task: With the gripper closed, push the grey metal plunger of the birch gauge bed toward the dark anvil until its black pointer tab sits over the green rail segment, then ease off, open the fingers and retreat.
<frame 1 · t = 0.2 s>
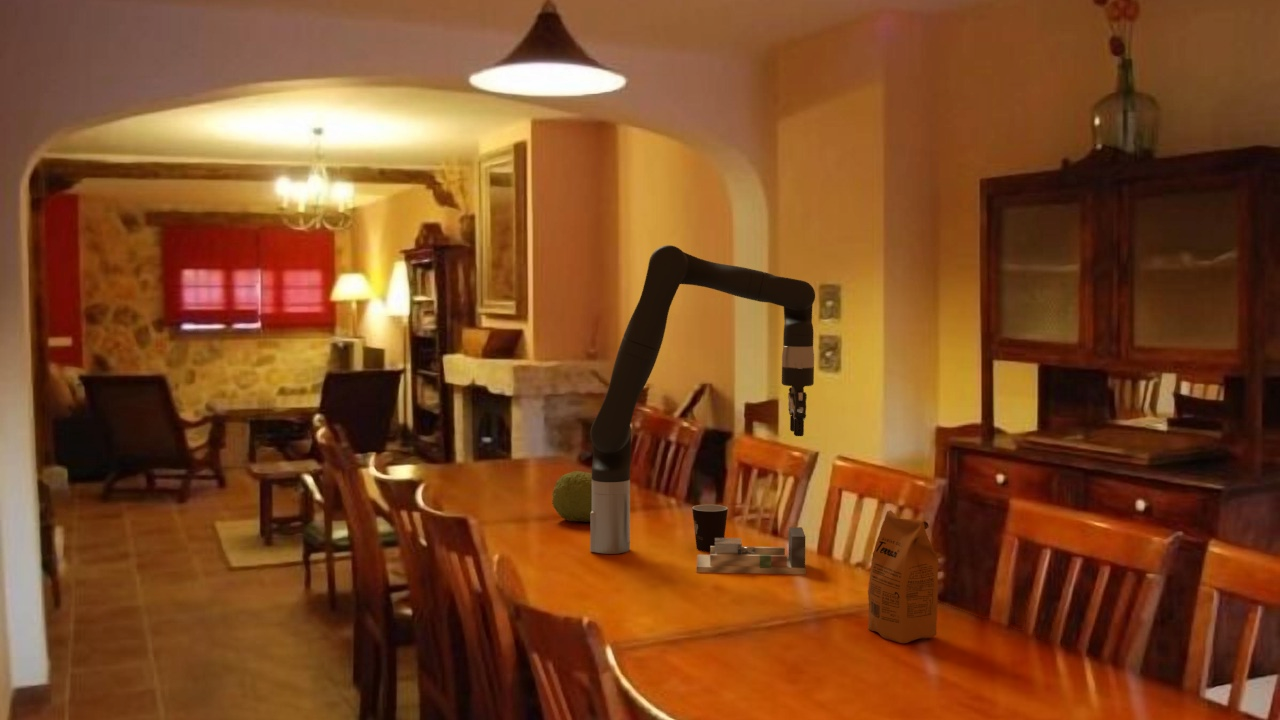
hand: (796, 433, 270), 29 cm above the table, tool pointing down, fingers open, 8 cm apart
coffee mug: (710, 548, 278), on the table
fruit: (581, 522, 310), on the table
plunger: (734, 551, 257), point 4 cm above the table, slide at 0.0 cm
gauge bed: (750, 566, 259), on the table
coffee package: (901, 635, 208), on the table
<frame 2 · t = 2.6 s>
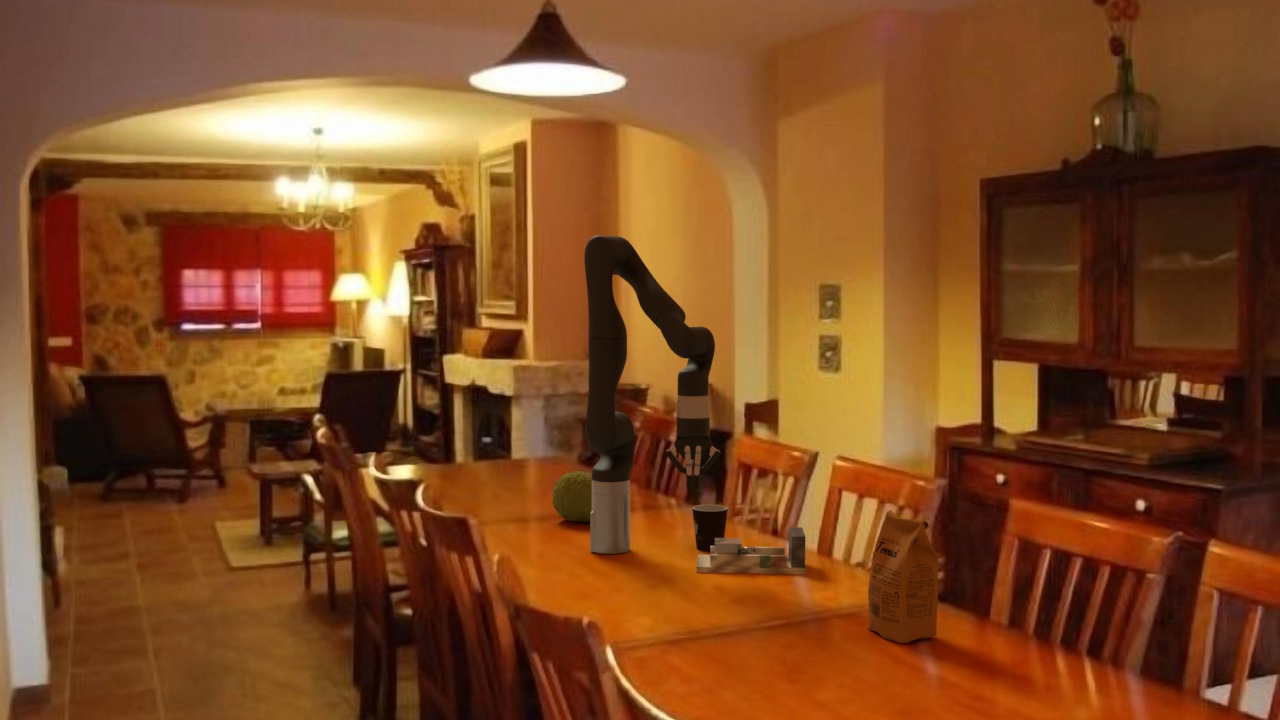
hand: (693, 491, 259), 17 cm above the table, tool pointing down, fingers closed
nothing on the table moved.
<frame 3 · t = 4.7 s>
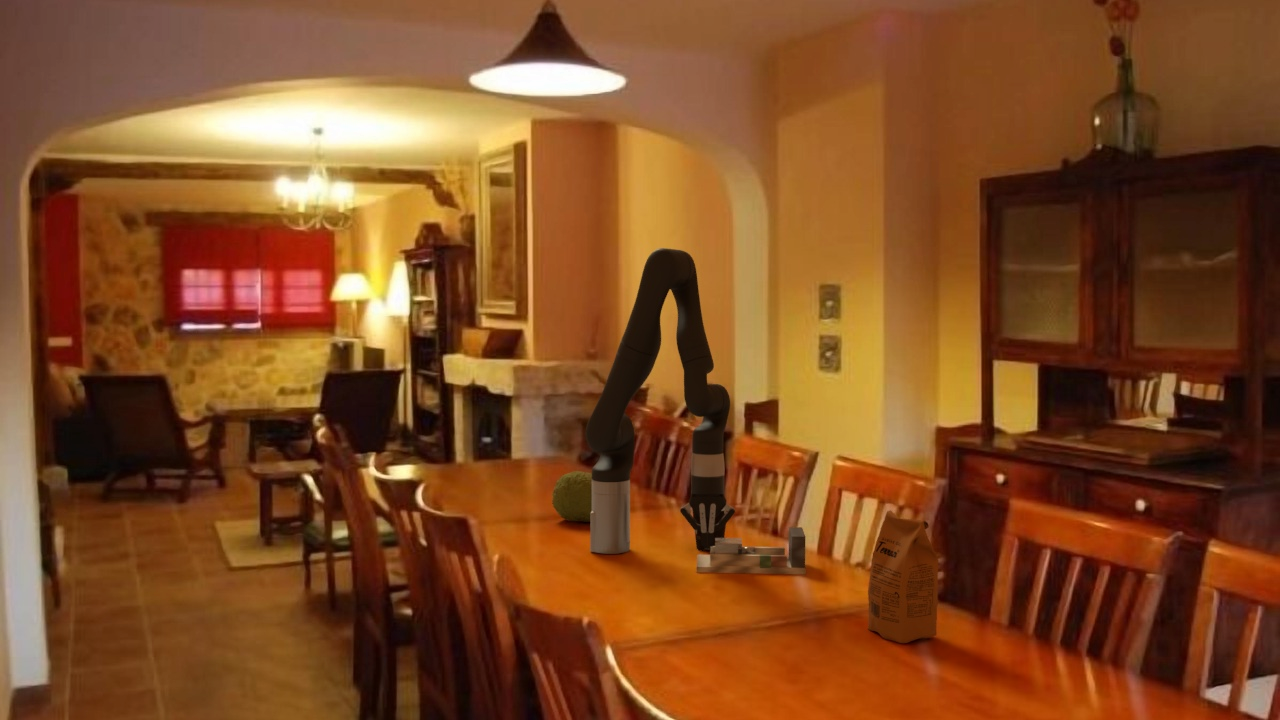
hand: (707, 548, 259), 4 cm above the table, tool pointing down, fingers closed
plunger: (735, 551, 257), point 4 cm above the table, slide at 0.1 cm, touching gripper
everything else where it was.
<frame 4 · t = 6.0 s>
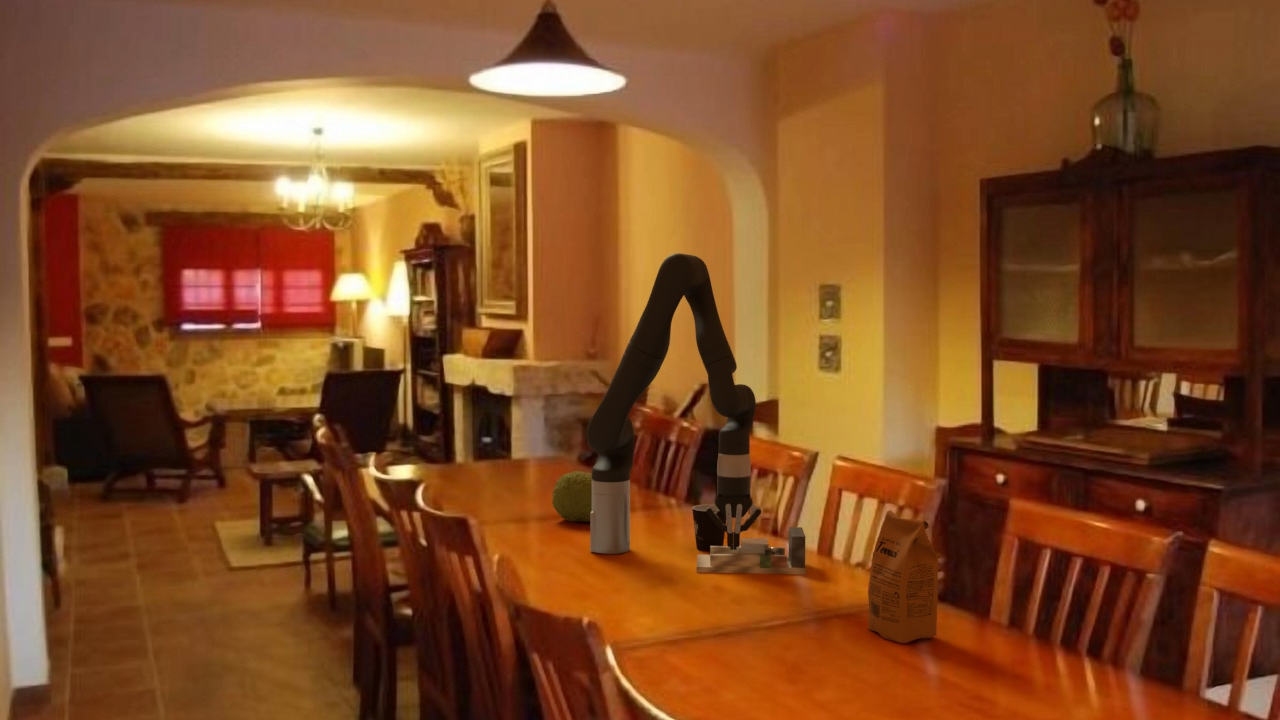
hand: (733, 548, 259), 4 cm above the table, tool pointing down, fingers closed
plunger: (761, 552, 257), point 4 cm above the table, slide at 6.0 cm, touching gripper
everything else where it was.
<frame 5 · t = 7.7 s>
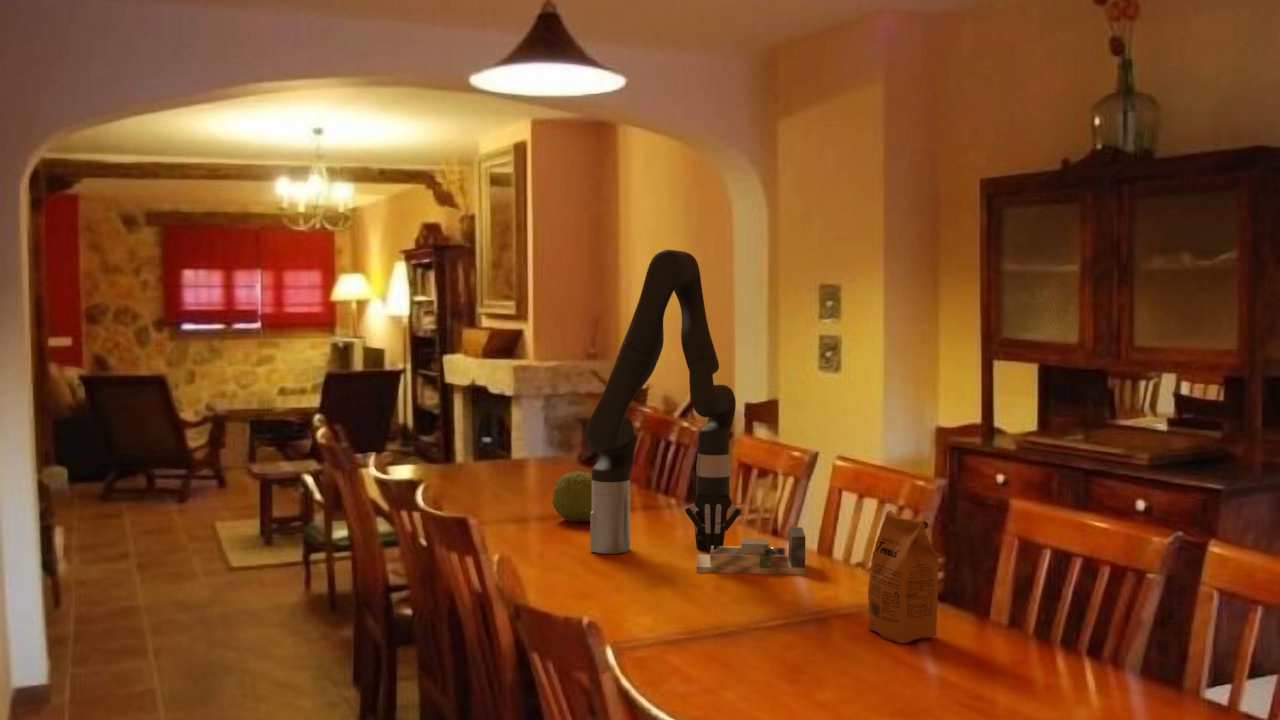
hand: (712, 548, 259), 4 cm above the table, tool pointing down, fingers closed
plunger: (761, 552, 257), point 4 cm above the table, slide at 6.0 cm
everything else where it was.
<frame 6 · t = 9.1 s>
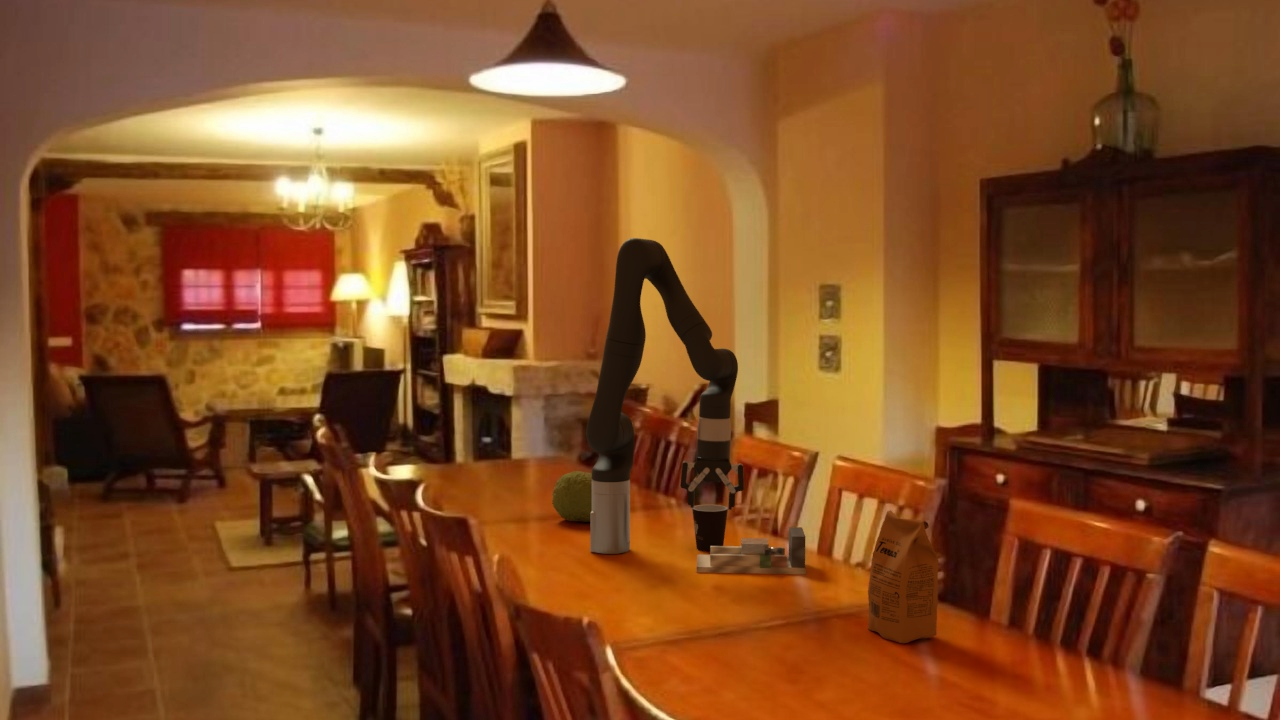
hand: (711, 508, 259), 13 cm above the table, tool pointing down, fingers open, 8 cm apart
nothing on the table moved.
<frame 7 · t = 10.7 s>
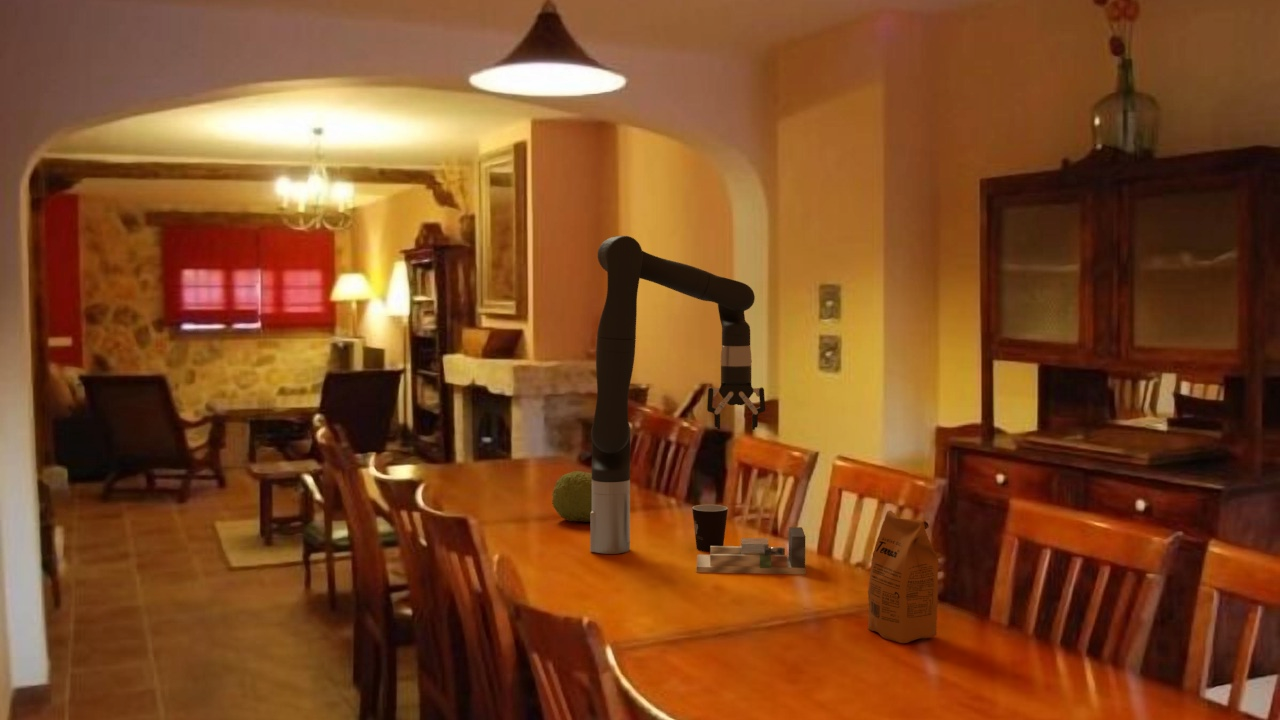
hand: (736, 429, 282), 28 cm above the table, tool pointing down, fingers open, 8 cm apart
nothing on the table moved.
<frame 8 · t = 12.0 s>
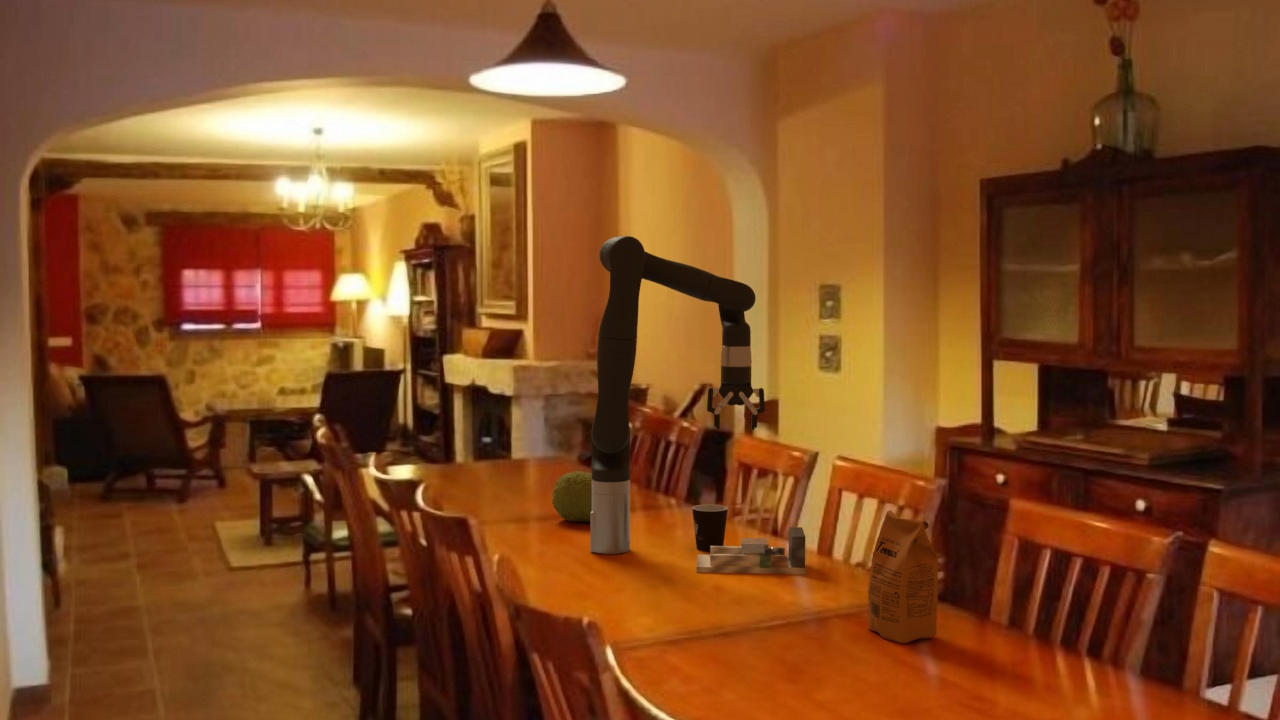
hand: (735, 429, 283), 28 cm above the table, tool pointing down, fingers open, 8 cm apart
nothing on the table moved.
at the end: plunger slide at 6.0 cm; the gripper is holding nothing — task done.
